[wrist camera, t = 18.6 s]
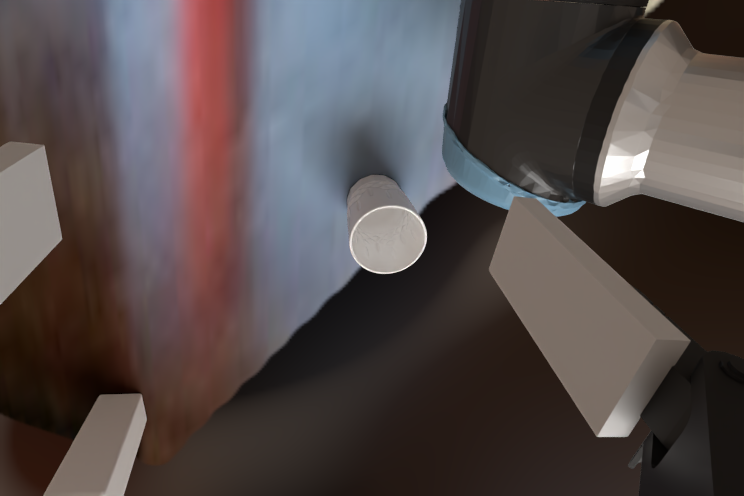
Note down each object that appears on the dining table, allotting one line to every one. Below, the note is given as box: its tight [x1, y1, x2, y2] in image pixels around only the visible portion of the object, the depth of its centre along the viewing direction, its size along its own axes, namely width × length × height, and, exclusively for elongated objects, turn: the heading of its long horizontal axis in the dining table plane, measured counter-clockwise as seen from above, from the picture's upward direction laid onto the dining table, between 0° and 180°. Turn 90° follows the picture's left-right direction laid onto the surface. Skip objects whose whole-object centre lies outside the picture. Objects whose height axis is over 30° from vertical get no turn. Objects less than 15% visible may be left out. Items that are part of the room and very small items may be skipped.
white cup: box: [347, 175, 427, 274], centre depth 50 cm, size 8×8×10 cm
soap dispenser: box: [44, 393, 147, 496], centre depth 56 cm, size 6×6×22 cm
